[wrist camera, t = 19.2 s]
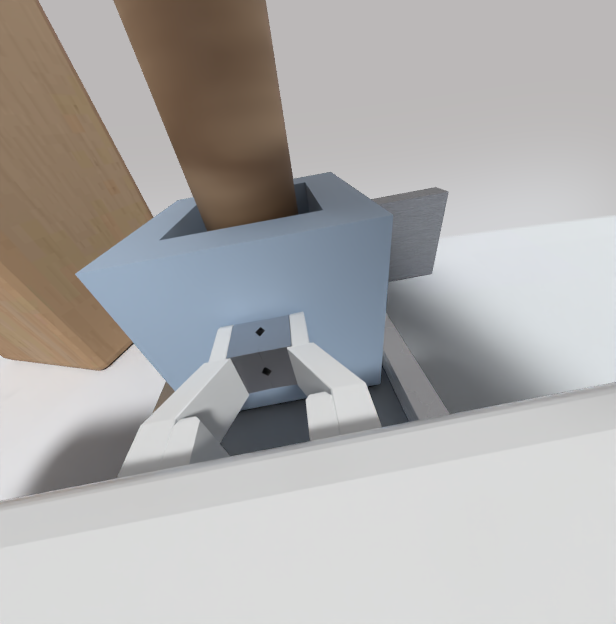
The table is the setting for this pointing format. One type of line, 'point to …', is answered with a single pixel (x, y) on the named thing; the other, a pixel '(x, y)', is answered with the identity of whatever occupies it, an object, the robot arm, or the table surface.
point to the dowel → (217, 103)
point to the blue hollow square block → (253, 281)
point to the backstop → (405, 264)
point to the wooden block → (55, 201)
